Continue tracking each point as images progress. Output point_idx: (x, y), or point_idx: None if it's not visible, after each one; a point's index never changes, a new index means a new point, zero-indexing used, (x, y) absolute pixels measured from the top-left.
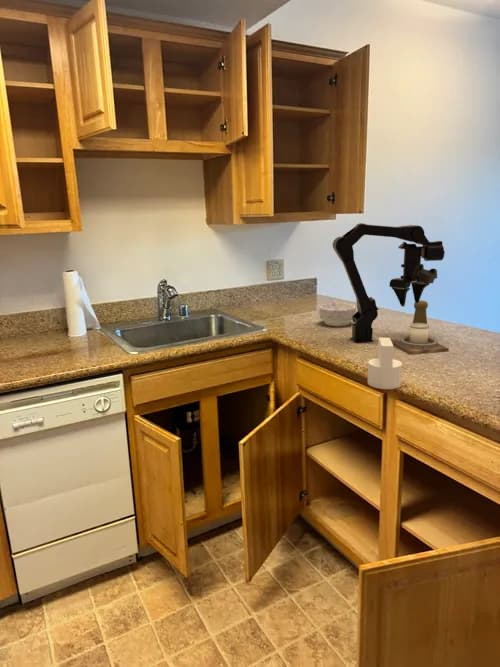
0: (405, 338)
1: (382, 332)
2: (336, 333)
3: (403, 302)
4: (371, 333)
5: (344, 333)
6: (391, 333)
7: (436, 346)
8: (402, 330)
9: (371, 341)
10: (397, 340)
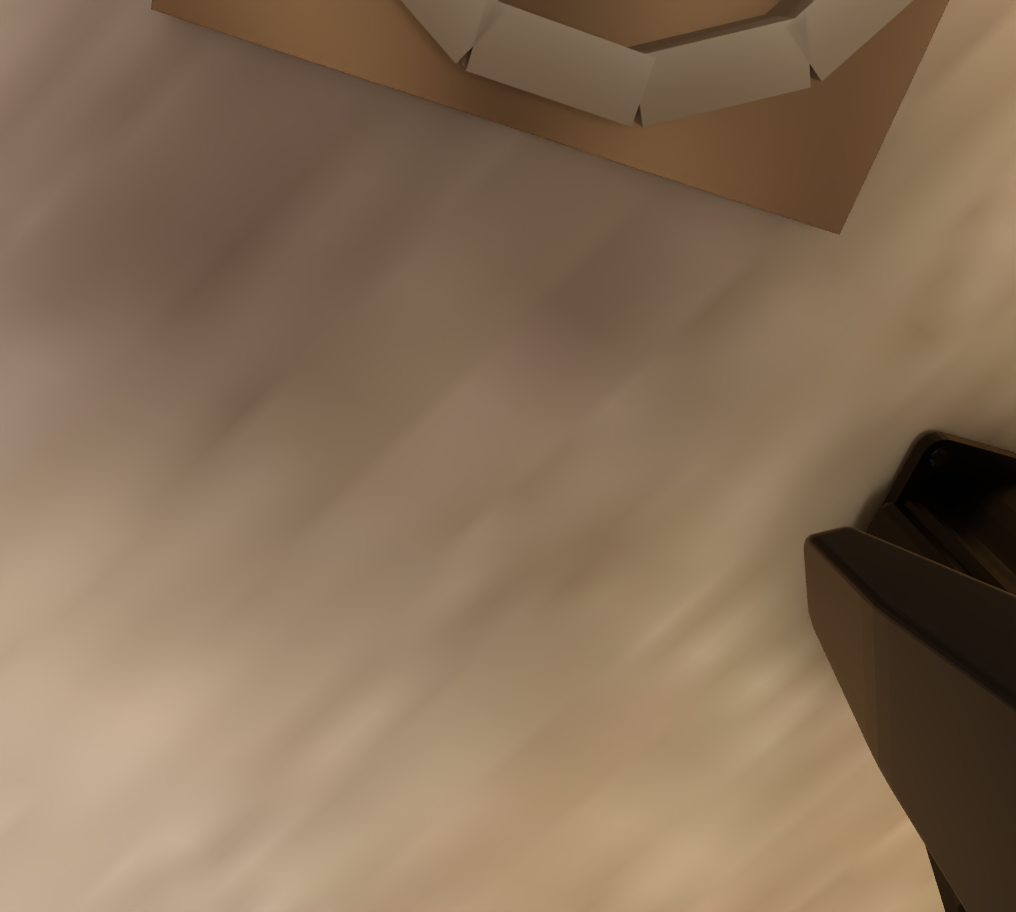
0: (731, 33)
1: (418, 734)
2: (897, 903)
3: (980, 607)
4: (943, 547)
5: (832, 873)
6: (348, 647)
7: None
8: (80, 698)
9: (954, 436)
10: (725, 196)
